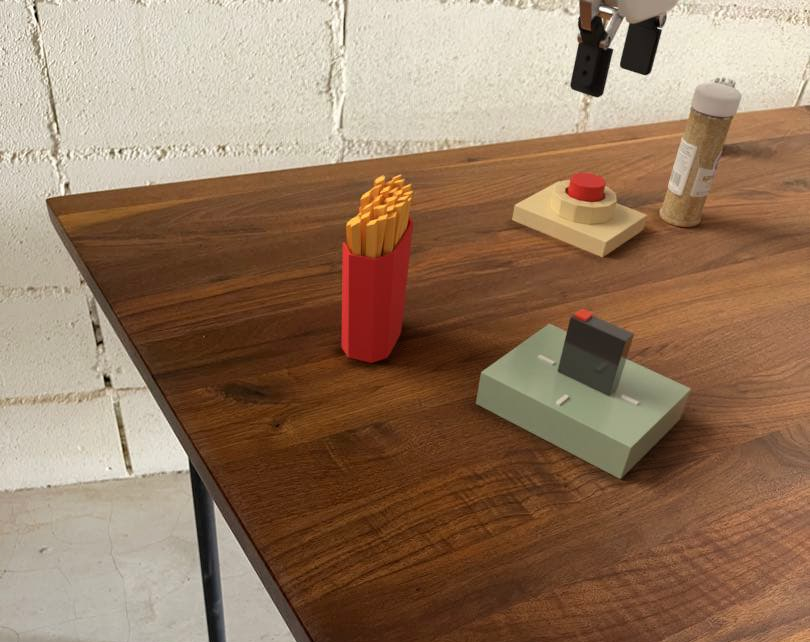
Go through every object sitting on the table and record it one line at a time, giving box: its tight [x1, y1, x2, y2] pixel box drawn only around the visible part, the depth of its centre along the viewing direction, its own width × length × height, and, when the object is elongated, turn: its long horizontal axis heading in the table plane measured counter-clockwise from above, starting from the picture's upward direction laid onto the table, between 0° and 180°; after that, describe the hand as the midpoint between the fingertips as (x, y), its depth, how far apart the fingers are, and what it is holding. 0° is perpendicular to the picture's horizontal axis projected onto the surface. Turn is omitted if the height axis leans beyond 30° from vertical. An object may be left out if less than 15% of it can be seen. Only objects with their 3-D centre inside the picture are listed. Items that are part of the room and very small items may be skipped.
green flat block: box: [475, 323, 692, 480], centre depth 69 cm, size 13×10×3 cm
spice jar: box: [658, 82, 742, 228], centre depth 92 cm, size 5×5×13 cm
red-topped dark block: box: [557, 308, 635, 395], centre depth 66 cm, size 5×1×5 cm, turn 52°
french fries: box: [341, 173, 414, 364], centre depth 70 cm, size 9×4×13 cm, turn 165°
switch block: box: [511, 179, 648, 258], centre depth 93 cm, size 11×9×4 cm
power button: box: [567, 172, 607, 202], centre depth 91 cm, size 4×4×2 cm
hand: (611, 81), depth 84 cm, fingers open, 9 cm apart
